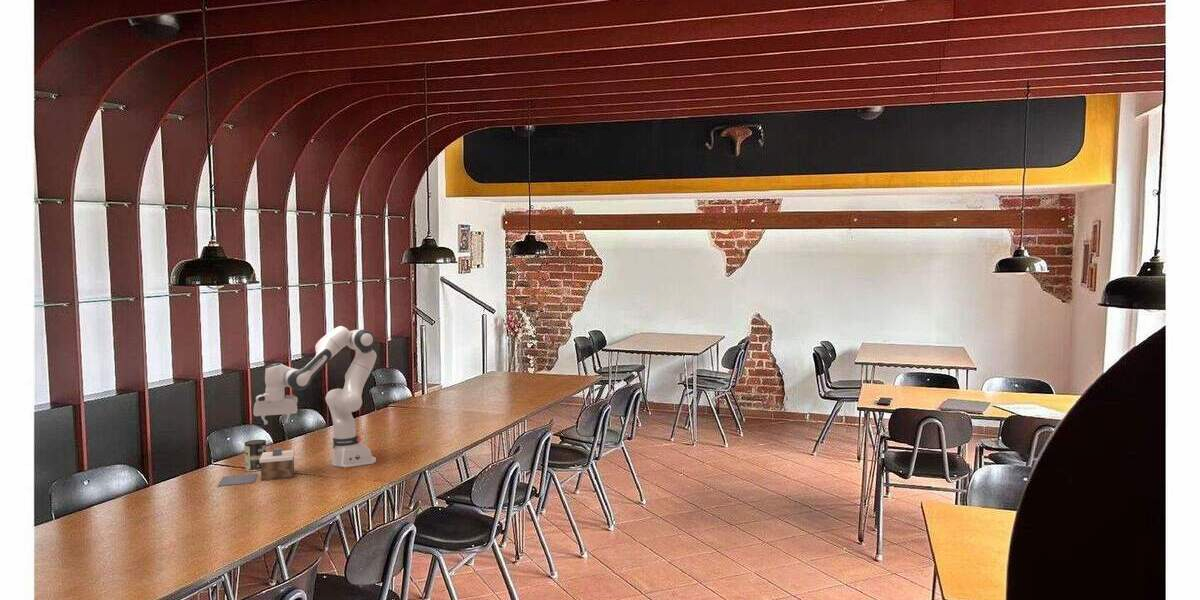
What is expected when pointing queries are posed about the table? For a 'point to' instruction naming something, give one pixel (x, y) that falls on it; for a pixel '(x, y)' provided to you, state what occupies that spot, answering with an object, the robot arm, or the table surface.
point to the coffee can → (254, 454)
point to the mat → (237, 479)
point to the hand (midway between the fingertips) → (276, 423)
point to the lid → (277, 455)
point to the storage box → (277, 470)
